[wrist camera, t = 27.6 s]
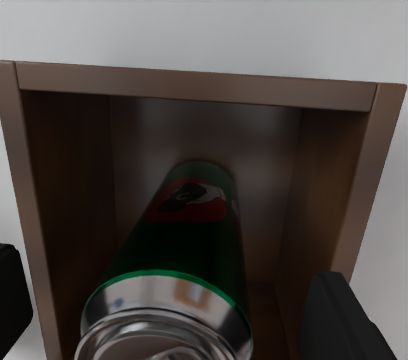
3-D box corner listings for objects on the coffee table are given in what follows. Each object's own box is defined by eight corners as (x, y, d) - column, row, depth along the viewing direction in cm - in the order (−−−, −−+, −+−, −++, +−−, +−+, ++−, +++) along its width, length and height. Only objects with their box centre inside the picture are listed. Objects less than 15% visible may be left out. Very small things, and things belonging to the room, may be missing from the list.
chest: (98, 68, 17) (-13, 59, 9) (320, 81, 16) (409, 84, 8) (112, 269, 22) (49, 374, 14) (281, 285, 21) (314, 406, 13)
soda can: (146, 187, 18) (18, 359, 7) (205, 142, 17) (165, 264, 6) (193, 241, 19) (149, 462, 8) (253, 202, 18) (297, 403, 7)
